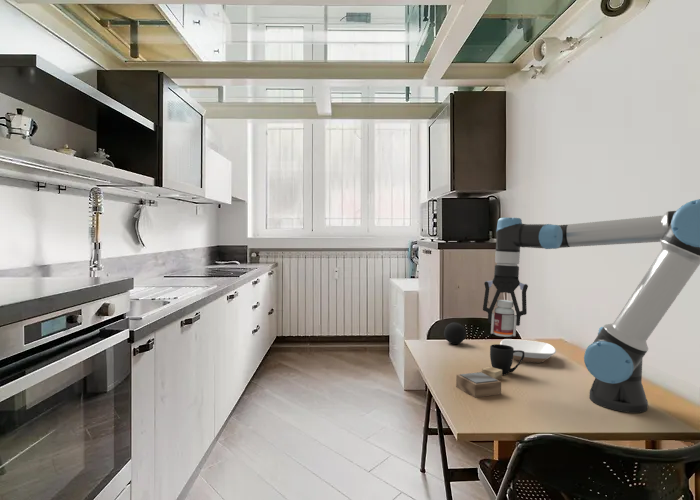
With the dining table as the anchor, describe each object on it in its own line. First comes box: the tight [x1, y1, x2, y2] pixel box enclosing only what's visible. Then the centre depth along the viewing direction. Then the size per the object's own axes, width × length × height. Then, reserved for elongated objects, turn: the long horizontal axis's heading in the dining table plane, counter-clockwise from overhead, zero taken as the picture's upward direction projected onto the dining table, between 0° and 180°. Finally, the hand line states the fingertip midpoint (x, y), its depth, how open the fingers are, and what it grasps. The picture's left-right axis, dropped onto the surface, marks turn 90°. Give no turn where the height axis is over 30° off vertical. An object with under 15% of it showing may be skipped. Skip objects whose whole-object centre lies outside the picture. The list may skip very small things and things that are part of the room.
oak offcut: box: [481, 366, 503, 380], centre depth 151 cm, size 5×5×3 cm
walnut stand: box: [455, 371, 502, 398], centre depth 138 cm, size 10×10×4 cm
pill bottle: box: [493, 299, 515, 338], centre depth 140 cm, size 6×6×11 cm
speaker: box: [443, 321, 467, 345], centre depth 200 cm, size 10×10×10 cm
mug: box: [489, 343, 525, 376], centre depth 157 cm, size 8×12×10 cm
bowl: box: [499, 338, 557, 364], centre depth 179 cm, size 22×22×5 cm
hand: (503, 333), depth 140 cm, fingers closed on pill bottle, 6 cm apart
